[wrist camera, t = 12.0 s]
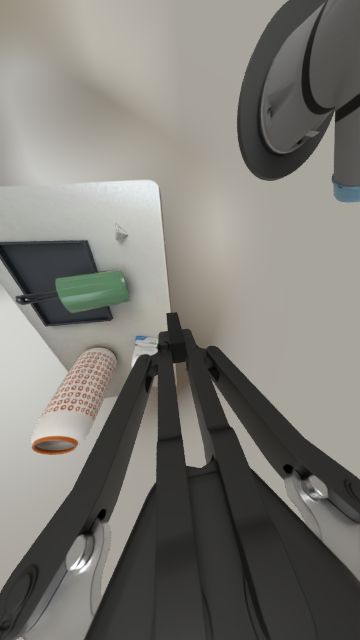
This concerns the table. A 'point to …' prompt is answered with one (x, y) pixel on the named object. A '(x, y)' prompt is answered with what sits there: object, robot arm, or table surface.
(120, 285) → the cup
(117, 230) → the tetrahedral die
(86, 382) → the vase
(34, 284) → the tray
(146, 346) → the ink box
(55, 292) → the tongs
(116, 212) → the table surface
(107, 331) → the table surface
